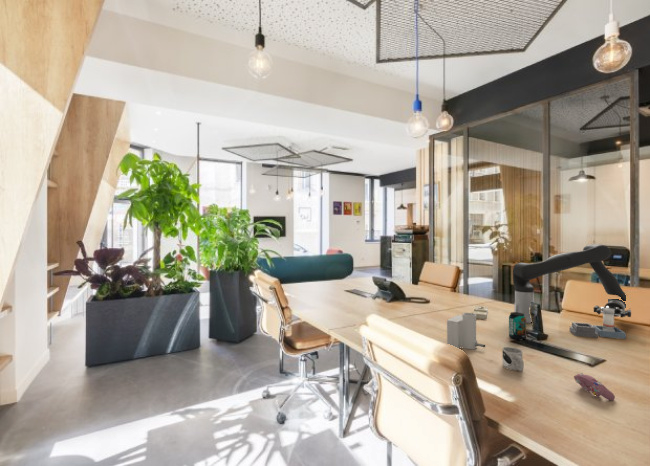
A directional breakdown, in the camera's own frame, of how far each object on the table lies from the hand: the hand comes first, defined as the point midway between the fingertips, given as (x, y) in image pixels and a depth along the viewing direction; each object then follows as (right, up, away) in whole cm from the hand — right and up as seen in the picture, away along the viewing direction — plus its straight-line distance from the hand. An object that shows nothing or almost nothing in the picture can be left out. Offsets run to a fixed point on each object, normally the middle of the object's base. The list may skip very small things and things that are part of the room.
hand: (609, 313), depth 159 cm
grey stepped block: (-78, -11, -15) cm, 80 cm away
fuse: (-2, -9, -2) cm, 9 cm away
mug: (-71, -12, -38) cm, 81 cm away
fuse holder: (-13, -10, 0) cm, 17 cm away
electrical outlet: (-47, -11, +36) cm, 60 cm away
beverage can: (-50, -11, -5) cm, 51 cm away
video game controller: (-57, -12, -57) cm, 81 cm away
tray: (-2, -10, -2) cm, 10 cm away
